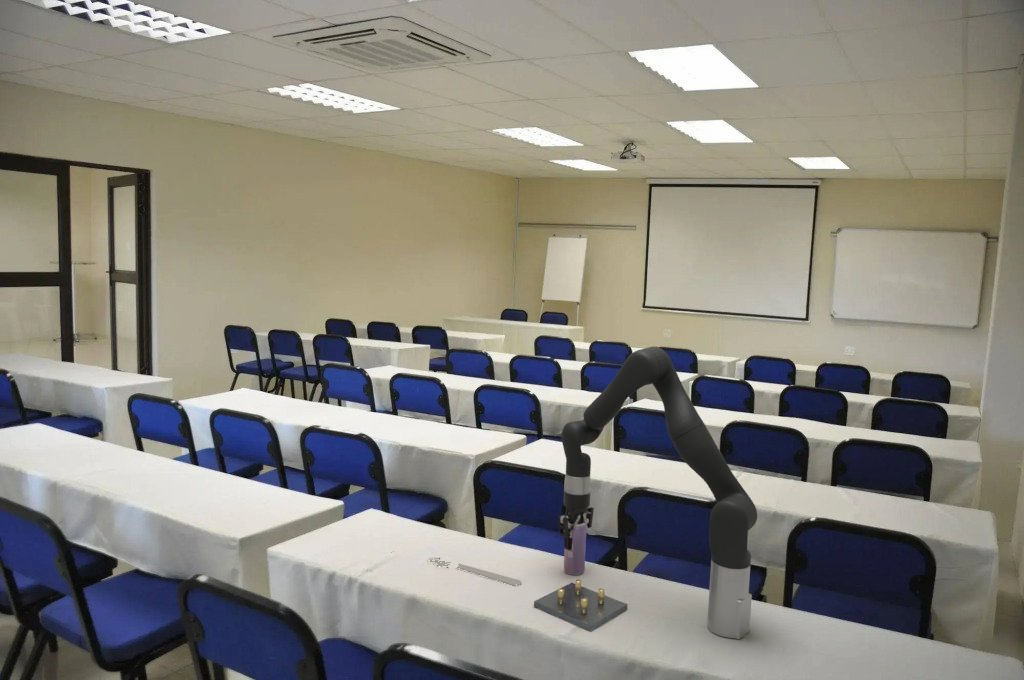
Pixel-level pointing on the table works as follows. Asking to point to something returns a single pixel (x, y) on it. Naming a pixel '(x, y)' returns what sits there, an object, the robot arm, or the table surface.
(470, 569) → the wrench
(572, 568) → the beverage can
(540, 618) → the table surface
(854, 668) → the table surface
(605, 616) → the chassis plate
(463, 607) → the table surface
